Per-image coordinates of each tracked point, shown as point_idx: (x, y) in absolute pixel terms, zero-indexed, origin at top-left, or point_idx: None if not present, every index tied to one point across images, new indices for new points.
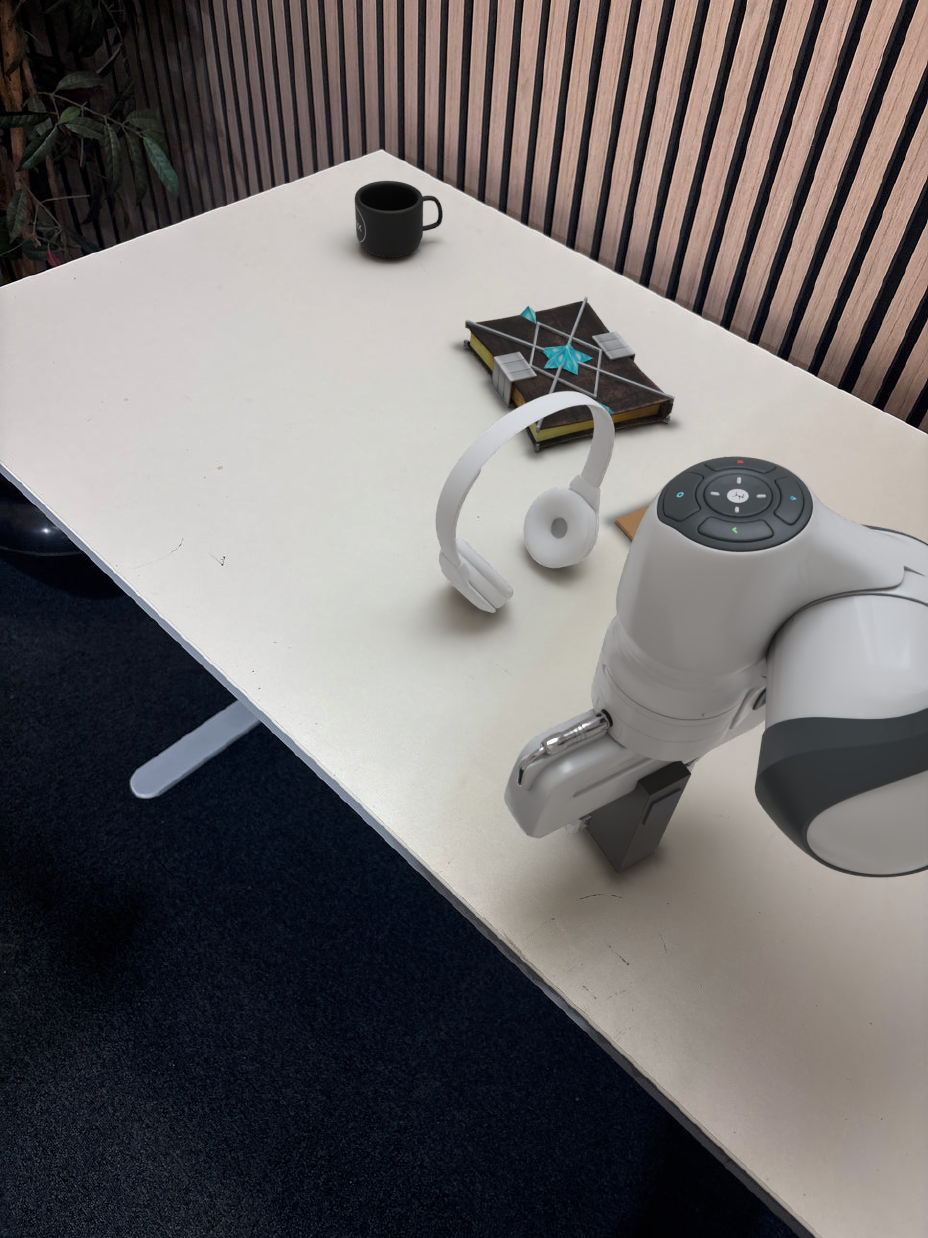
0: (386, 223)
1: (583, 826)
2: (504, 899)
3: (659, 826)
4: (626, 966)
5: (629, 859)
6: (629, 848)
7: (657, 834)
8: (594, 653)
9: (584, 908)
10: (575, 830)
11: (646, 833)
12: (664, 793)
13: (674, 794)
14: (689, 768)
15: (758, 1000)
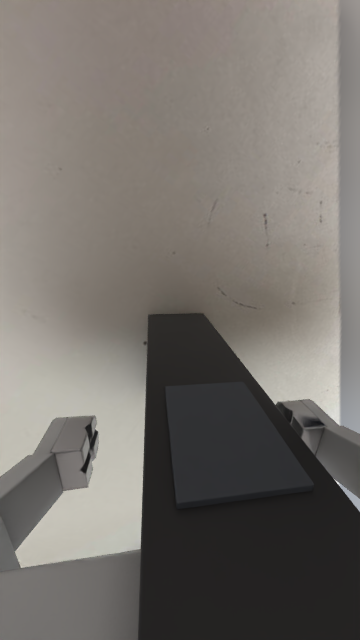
0: None
1: (299, 408)
2: (315, 341)
3: (170, 353)
4: (268, 213)
5: (198, 322)
6: (220, 339)
7: (163, 338)
8: (73, 516)
9: (260, 296)
10: (315, 407)
11: (199, 352)
12: (285, 541)
13: (209, 489)
14: (54, 439)
15: (146, 46)
